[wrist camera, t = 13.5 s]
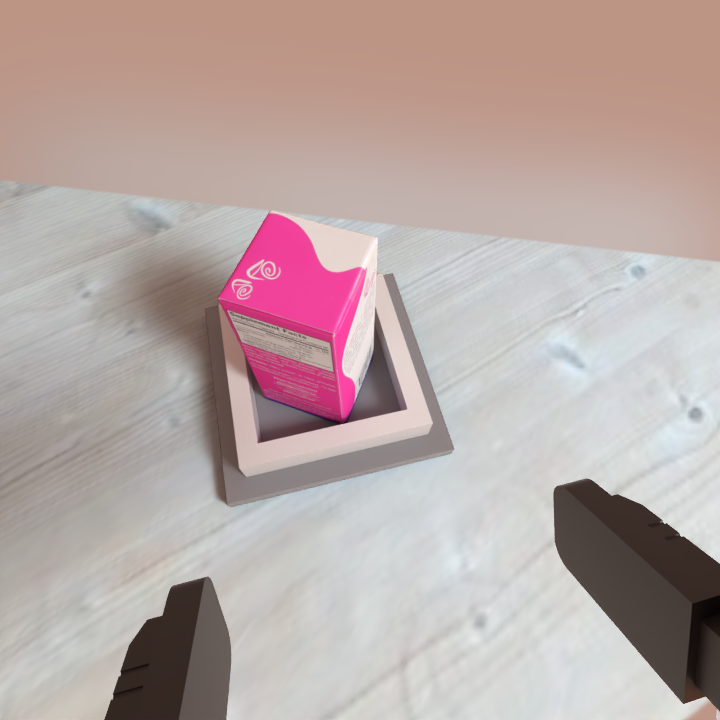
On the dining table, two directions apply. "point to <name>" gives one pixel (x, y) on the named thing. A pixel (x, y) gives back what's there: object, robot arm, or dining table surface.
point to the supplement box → (306, 313)
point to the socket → (320, 436)
